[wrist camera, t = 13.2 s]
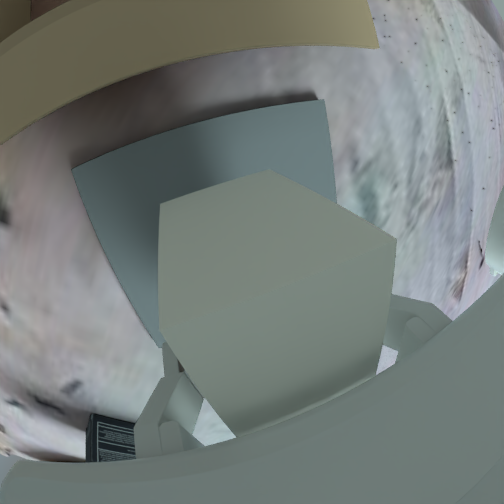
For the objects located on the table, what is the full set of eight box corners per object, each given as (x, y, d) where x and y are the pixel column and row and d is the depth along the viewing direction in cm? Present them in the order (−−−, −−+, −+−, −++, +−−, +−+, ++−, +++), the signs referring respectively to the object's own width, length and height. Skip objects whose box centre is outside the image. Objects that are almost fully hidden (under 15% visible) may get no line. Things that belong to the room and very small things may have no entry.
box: (269, 169, 11) (396, 238, 5) (297, 326, 15) (361, 423, 9) (160, 203, 10) (159, 330, 4) (223, 354, 14) (263, 466, 9)
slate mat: (318, 99, 14) (324, 99, 13) (336, 279, 20) (340, 283, 20) (74, 167, 12) (71, 169, 11) (158, 342, 18) (158, 348, 18)
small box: (84, 433, 22) (86, 510, 13) (90, 411, 20) (91, 503, 11) (164, 449, 27) (179, 519, 18) (183, 430, 25) (202, 512, 16)
